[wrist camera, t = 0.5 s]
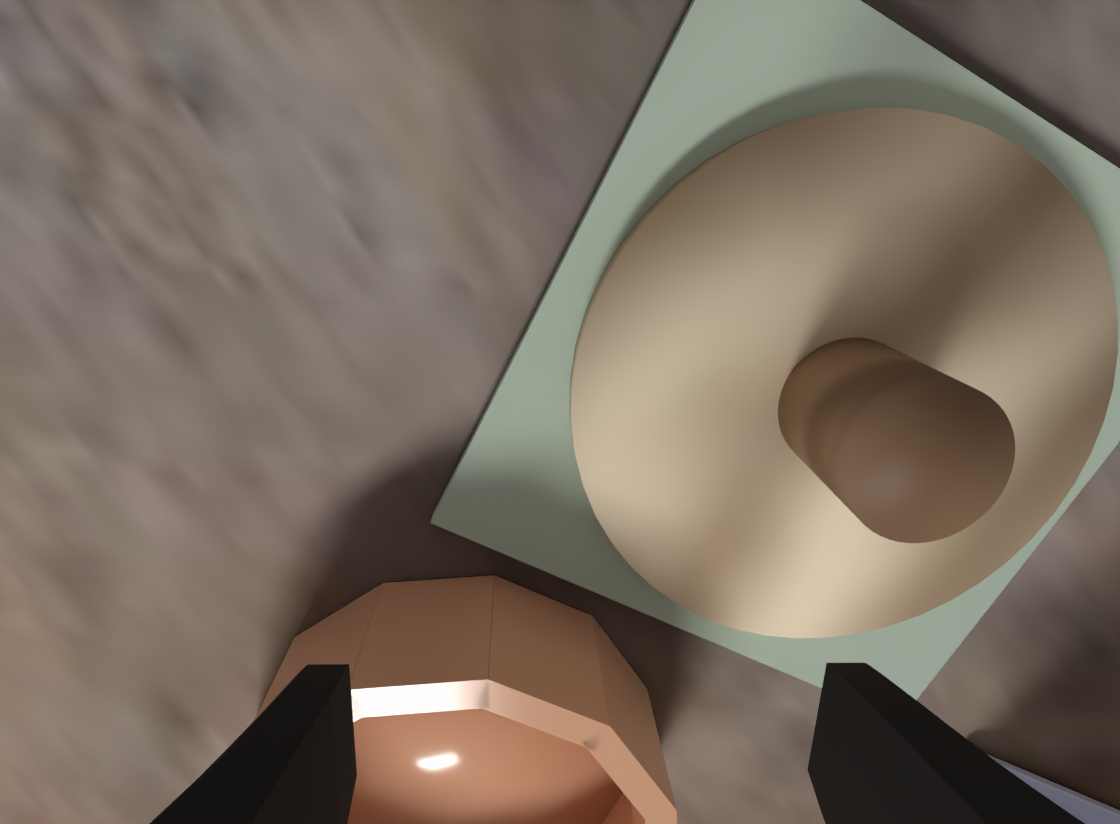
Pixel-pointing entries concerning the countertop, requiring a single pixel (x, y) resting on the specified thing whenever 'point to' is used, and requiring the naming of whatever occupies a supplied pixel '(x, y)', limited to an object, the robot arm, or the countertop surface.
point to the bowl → (488, 709)
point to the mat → (618, 204)
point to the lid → (843, 371)
